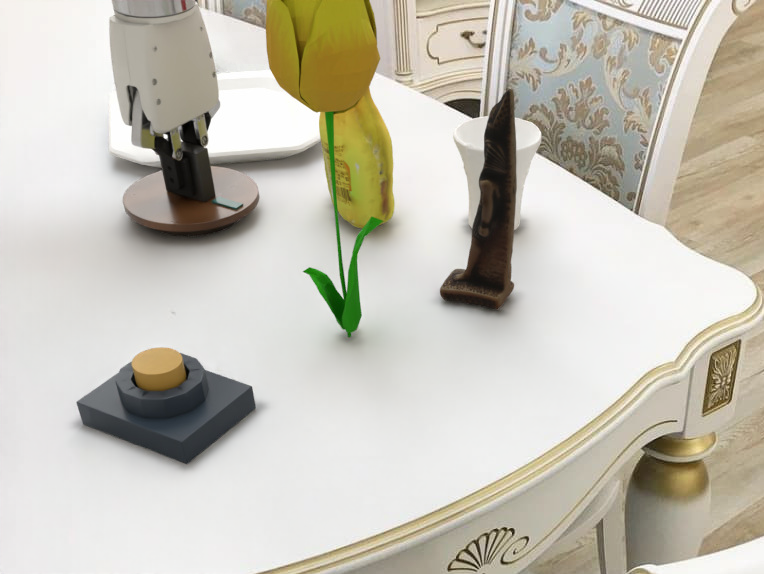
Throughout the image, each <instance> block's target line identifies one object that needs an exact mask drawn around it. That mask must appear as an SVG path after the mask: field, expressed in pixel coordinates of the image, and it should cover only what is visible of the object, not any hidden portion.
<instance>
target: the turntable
mask: <svg viewBox="0 0 764 574" xmlns="http://www.w3.org/2000/svg"><path fill="white" fill-rule="evenodd" d="M166 140H168V138H166ZM181 144H182V150H183V157H187V158H188V159H189V163H190V168H191V173H192V178H193V184H194V189H195V195H194V196H192V197H186V196H182V195H179V194H176V193H172V192H170V191H169V190H168V188H167V183H166V178H165V174H164V169H163V164H162V159H161V156H159V158H160V162H161V167H162V168H161V170H160V171H157V172H153V173H150V174H147V175H146V176H143V177H141V178H139V179H137V180H136V181H135V182H133V183H132V184H131V185H129V186H128V187H127V189H126V190H125V192H123V196H122V205H123V208H124V211H125V214H126V215H127V216H128V217H129V219H130V220H132V221H133V222H135V223H136V224H139V225H141V226H143V227H146V228H149V229H154V230H155V229H157V230H163V231H174V232H190V231H201V230H208V229H213V228H217V227H221V226H225V225H228V224H230V223H233V222H235V221H238V220H239V221H240V220H241V219H243V218H245V217H247V216H248V215H249V214H251V213H252V212H254V210H255V209H256V208H257V206H258V204H259V203H260V191H259V186H258V184H257V183H256V181H255V180H254V179H253V178H252V177H251V176H249V175H247V174H245V173H243V172H241V171H238V170H235V169H232V168H228V167H223V166H217V165H210V161H209V155H208V149H207V148H204V147H201V146H197V145H193V144H190V143H186V142H182V141H181ZM239 221H238V222H239ZM157 230H156V231H157Z"/></svg>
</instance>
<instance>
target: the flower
mask: <svg viewBox="0 0 764 574" xmlns="http://www.w3.org/2000/svg"><path fill="white" fill-rule="evenodd" d="M265 13H266V15H265V41H266V42H265V45H266V55H267V62H268V67H269V70H271V72H272V74H273V76H274V77H275V79H276V81H277V83H278V84H279V86H280V87H281V88H282V89H284V90H285V91H286V92H287V93H288V94H290V95H291V96H292V97H293V98H295V99H296V100H298V101H299V102H301V103H302V104H304V105H305V106H306V107H308V108H309V109H311V110H312V111H314V112H316V113H318V112H325V119H326V128H327V138H328V147H329V157H330V167H331V178H332V189H333V200H334V205H333V211H334V220H335V221H334V222H335V235H336V249H337V259H338V260H337V261H338V272H339V280H340V285H341V291H342V292H341V293H342V295H341V293H339V291H338V290H337V288H336V286H335V284H334V283H333V281H332V280H331V278H330V277H329V275H328V274H326V273H325V272H323V271H321V270H320V269H317V268H314V267H308V268H306V269H304V270H303V271H302V273H305V274H307V275H309V277H310V279H311V280H312V282H313V284H314V285H315V287H316V289H317V291H318V293H319V294H320V295H321V297H322V298H323V300H324V301H325V303H326V305H327V306H328V308H329V309H330V311H331V313H332V314H333V316H334V319H335V321H336V323H337V324H338V325H339V326H340V328H341V329H342V330H344V331H345V332H346V334H347V338H352V333H353V332H356V331H357V329H358V328H359V325H360V322H361V320H362V317H363V314H362V305H361V297H360V295H361V294H360V282H359V271H358V255H359V252H360V250H361V248H362V244H363V242H364V239H365V237H367V236H368V235H369V234H370V233H372V232H373V231H374V230H375V229H377V227H379V226H381V225H382V224H381V223H382V222H383V221H382V220H380V219H377V218H374V217H371V218H370V219H369V221H368V222H367V224H366V225H365V226H364V227H363V229H362V228H361V229H360V231H359V232H358V233H357V235H356V237H355V241H354V244H353V249H352V254H351V258H350V262H349V265H348V266H349V267H348V270H347V284H346V279H345V278H346V277H345V270H344V264H343V254H342V244H341V243H342V241H341V232H340V223H339V222H340V221H339V212H338V210H337V196H336V177H335V158H334V114H340V113H345V112H346V111H348V110H350V109H352V108H354V107H356V105H357V103H358V102H359V100H360V99H361V97H363V96H364V95H365V93H366V91H367V90H368V88H370V86H371V84H372V81H373V79H374V77H375V74H376V71H377V68H378V66H379V64H380V61H381V55H380V52H379V49H378V35H377V33H378V31H377V25H376V18H375V12H374V10H373V6H372V3H371V1H370V0H266V12H265ZM380 224H381V225H380ZM378 225H379V226H378Z"/></svg>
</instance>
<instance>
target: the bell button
mask: <svg viewBox="0 0 764 574" xmlns="http://www.w3.org/2000/svg"><path fill="white" fill-rule="evenodd" d="M180 353H181V352H179V351H178V350H176V349H174V348H171V347H161V346H159V347H152V348H148V349H145V350H142V351H141V352H139V353H137V354H136V355H135V356H134V357H133V358H132V360H131V361H132V364H131V365H132V369H133V372H134V376H135V380H136V384H137V386H138V387H139V388H140V389H143V390H146V391H165V390H168V389H172V388H175V387H178V386H179V385H181V384H182V383H183V382H185V380H186V371H185V367H184V363H183V358H182V355H181V354H180Z"/></svg>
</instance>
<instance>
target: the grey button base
mask: <svg viewBox="0 0 764 574" xmlns="http://www.w3.org/2000/svg"><path fill="white" fill-rule="evenodd" d="M179 353H180V354H181V355H182V358H183V363H184V367H185V371H186V380H185V382H183V383H182V384H181V385H179V386H178V387H175V388H172V389H168V390H165V391H146V390H143V389H140V388H139V387H138V386H137V384H136V380H135V376H134V372H133V369H132V365H131V364H132V360H131V361H130V362H128V363H127V364H126V365H124V366H122V367H121V368H120V369H119V371H118V372H117V373H116V374H114V375H113V376H111V377H110V378H108V379H107V380H105V381H104V382H102V384H100V385H98V386H97V387H96V388H94V389H93V390H91V391H89V392H88V393H87V394H86V395H84V396H83V397H81V398H80V399H78V400H77V401H76V406H77V410H78V413H79V416H80V419H81V422H82V424H83V425H84V426H87V427H89V428H92V429H95V430H97V431H100V432H102V433H104V434H107V435H109V436H112V437H115V438H118V439H120V440H123V441H126V442H129V443H131V444H133V445H135V446H138V447H141V448H143V449H147V450H149V451H152V452H154V453H157V454H159V455H162V456H165V457H168V458H170V459H172V460H175V461H177V462H180V463H183V464H185V465H188V464H189V463H191V462H192V461H193V460H194V459H195V458H196V457H198V456H199V455H200V454H201V453H203V452H204V451H205V450H207V449H208V448H209V447H210V446H212V445H213V444H214V443H216V441H218V440H219V439H220V438H221V437H222V436H224V435H225V434H226V433H228V432H229V431H230V430H231V429H232V428H233V427H235V426H236V425H237V424H239V423H240V422H241V421H242V420H243V419H245V418H246V417H247V416H248V415H249V414H250V413H252V412H253V411H254V410H255V409H256V408H257V406H256V401H255V395H254V390H253V386H252V385H249V384H247V383H244V382H241V381H239V380H236V379H233V378H230V377H227V376H224V375H221V374H218V373H216V372H212V371H210V370H206V368H205V367H204V366H203V364H202V363H201V362H200V361H199V359H197V357H194V356H190V355H188V354H185V353H183V352H179Z"/></svg>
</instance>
